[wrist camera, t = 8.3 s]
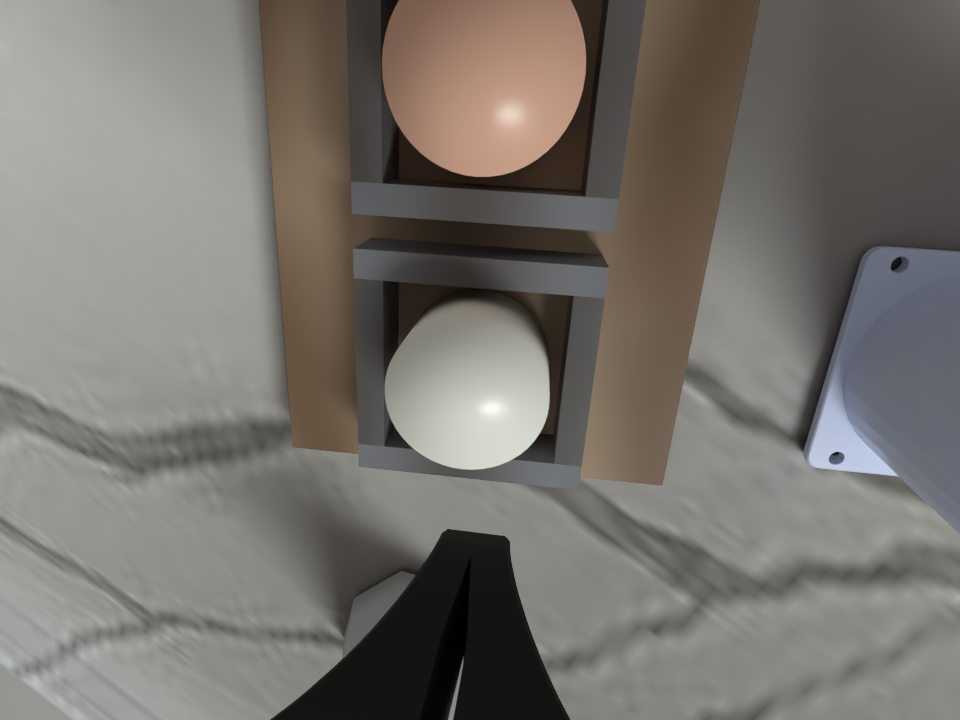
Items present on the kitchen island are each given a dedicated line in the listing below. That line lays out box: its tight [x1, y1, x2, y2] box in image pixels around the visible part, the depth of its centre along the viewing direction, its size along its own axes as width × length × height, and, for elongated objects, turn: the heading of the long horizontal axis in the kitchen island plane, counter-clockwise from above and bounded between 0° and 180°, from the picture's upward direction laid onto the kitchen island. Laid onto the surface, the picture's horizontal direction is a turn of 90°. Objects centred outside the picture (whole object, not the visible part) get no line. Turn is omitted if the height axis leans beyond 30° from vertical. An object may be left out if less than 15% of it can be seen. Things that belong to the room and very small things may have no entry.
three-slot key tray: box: [259, 0, 760, 490], centre depth 16 cm, size 14×26×3 cm, turn 177°
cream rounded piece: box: [384, 290, 550, 470], centre depth 18 cm, size 5×5×3 cm
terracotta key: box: [382, 0, 586, 177], centre depth 15 cm, size 5×5×3 cm
